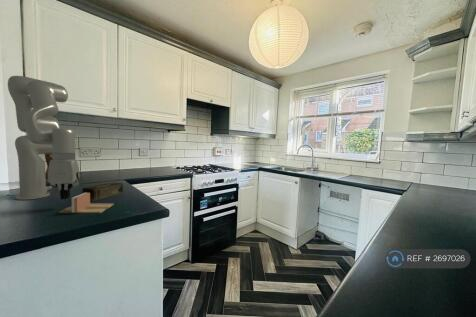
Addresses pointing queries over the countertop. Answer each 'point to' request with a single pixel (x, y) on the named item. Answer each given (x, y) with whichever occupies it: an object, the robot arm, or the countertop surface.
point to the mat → (90, 208)
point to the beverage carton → (103, 190)
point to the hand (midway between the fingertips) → (65, 198)
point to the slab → (80, 202)
